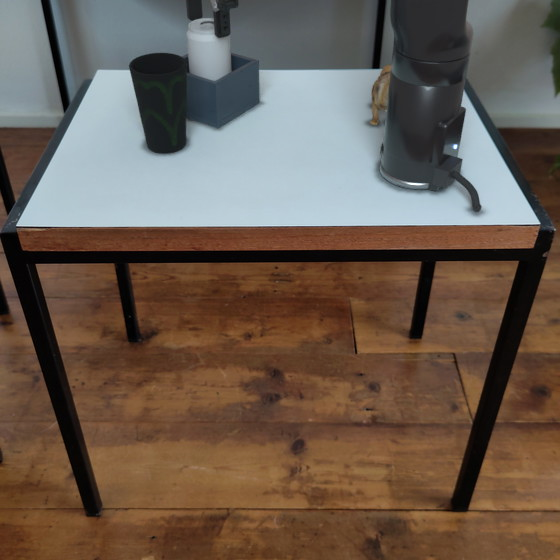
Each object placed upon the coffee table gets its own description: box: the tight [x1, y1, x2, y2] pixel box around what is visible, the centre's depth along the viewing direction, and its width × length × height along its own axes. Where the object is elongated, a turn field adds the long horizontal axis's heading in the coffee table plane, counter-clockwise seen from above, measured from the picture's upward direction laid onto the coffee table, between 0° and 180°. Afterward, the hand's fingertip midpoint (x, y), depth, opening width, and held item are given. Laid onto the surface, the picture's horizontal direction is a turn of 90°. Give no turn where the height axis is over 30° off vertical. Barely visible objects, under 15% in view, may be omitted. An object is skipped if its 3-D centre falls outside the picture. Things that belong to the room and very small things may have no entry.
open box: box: [181, 52, 261, 129], centre depth 111 cm, size 11×11×7 cm
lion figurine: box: [369, 63, 392, 126], centre depth 109 cm, size 15×5×9 cm, turn 176°
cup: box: [128, 52, 187, 155], centre depth 100 cm, size 8×8×12 cm
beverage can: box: [185, 17, 232, 81], centre depth 109 cm, size 6×6×12 cm
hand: (208, 27), depth 106 cm, fingers open, 8 cm apart
